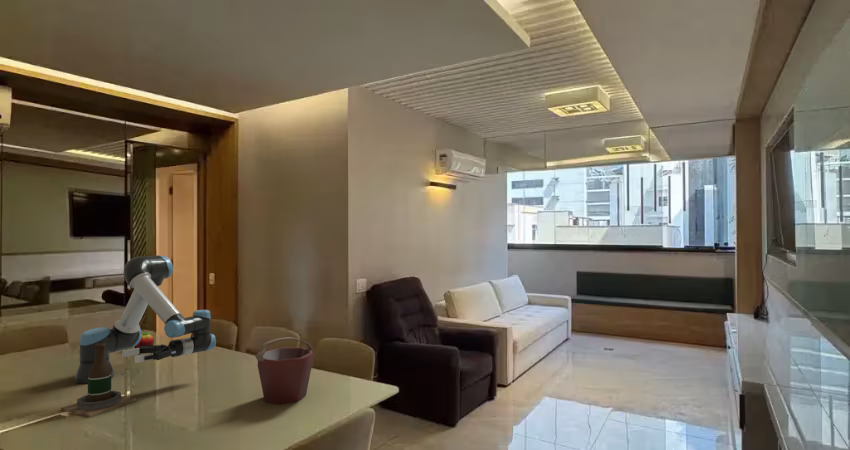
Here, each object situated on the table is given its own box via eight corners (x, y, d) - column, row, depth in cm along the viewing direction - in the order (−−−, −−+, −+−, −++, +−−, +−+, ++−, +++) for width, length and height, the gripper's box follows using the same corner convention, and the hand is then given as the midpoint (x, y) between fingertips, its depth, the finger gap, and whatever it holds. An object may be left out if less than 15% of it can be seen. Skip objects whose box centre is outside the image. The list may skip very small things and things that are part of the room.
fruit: (128, 351, 272) (129, 334, 273) (142, 347, 283) (143, 330, 283) (144, 352, 271) (144, 335, 271) (158, 347, 281) (158, 331, 282)
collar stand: (60, 410, 180) (60, 401, 180) (107, 395, 197) (107, 387, 197) (90, 417, 173) (90, 407, 173) (136, 401, 190) (136, 392, 190)
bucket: (257, 411, 179) (257, 346, 179) (250, 394, 198) (250, 336, 199) (319, 400, 190) (319, 340, 190) (307, 385, 209) (307, 330, 210)
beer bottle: (98, 407, 180) (99, 346, 181) (82, 405, 182) (83, 345, 183) (115, 400, 188) (116, 341, 189) (100, 399, 190) (100, 340, 190)
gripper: (193, 360, 202) (140, 371, 186) (168, 351, 218) (117, 360, 201) (193, 343, 203) (140, 352, 186) (168, 335, 218) (117, 343, 201)
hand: (128, 356), depth 193 cm, fingers open, 13 cm apart
